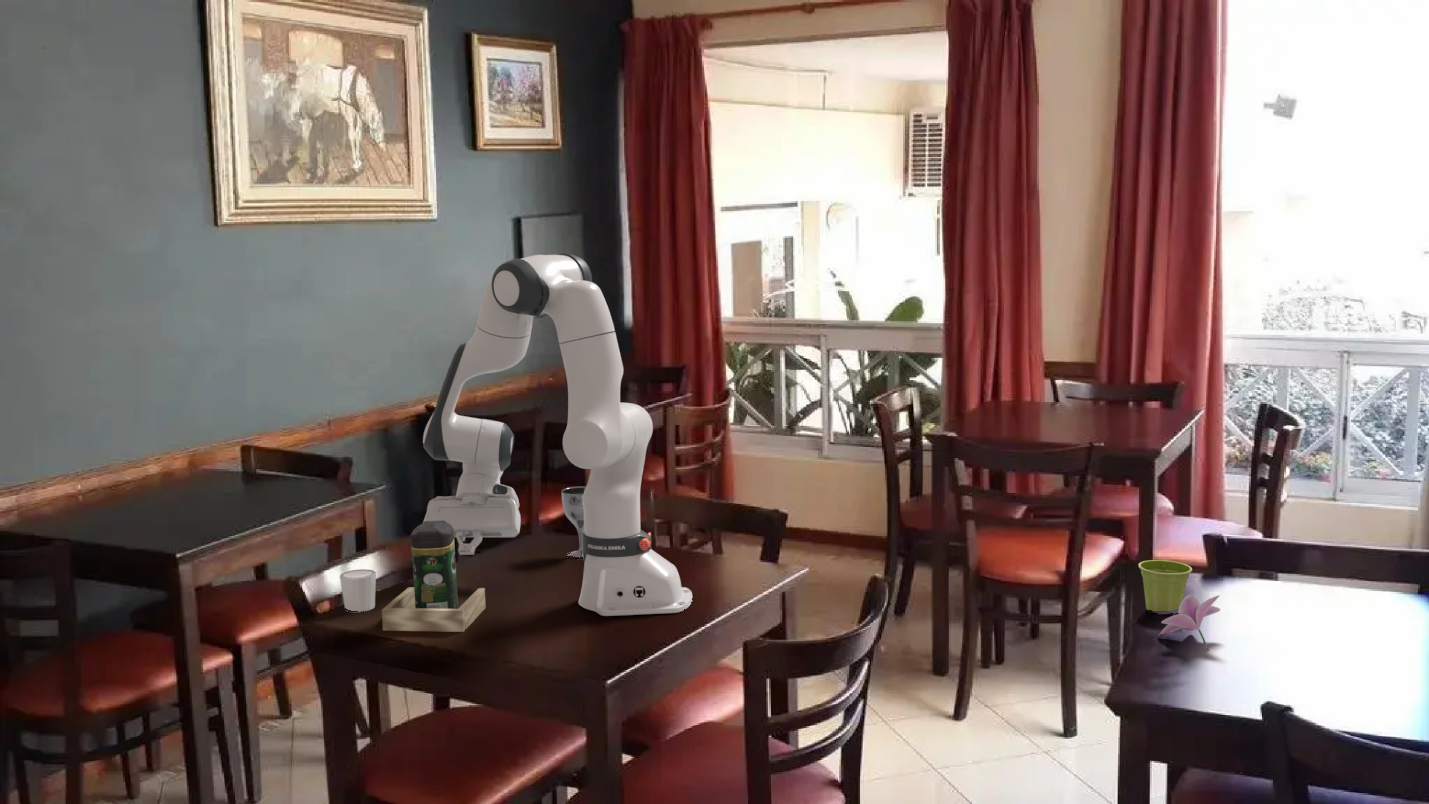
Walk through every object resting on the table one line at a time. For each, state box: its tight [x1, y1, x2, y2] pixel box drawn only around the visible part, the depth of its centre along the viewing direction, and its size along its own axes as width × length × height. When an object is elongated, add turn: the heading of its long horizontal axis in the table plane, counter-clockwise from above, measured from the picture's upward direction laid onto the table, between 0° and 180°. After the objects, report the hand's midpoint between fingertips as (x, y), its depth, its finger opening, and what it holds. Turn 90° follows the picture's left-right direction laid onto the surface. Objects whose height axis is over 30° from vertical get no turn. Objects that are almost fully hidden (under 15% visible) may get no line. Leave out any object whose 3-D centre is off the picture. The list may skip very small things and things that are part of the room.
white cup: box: [339, 568, 377, 613], centre depth 241 cm, size 7×7×7 cm
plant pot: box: [1138, 559, 1193, 611], centre depth 229 cm, size 9×9×9 cm
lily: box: [1158, 594, 1221, 645], centre depth 212 cm, size 12×12×10 cm
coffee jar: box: [410, 521, 459, 609], centre depth 233 cm, size 10×8×19 cm
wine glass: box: [561, 485, 587, 558], centre depth 276 cm, size 8×8×15 cm
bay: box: [381, 586, 487, 633], centre depth 234 cm, size 15×14×4 cm
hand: (465, 553), depth 252 cm, fingers closed
